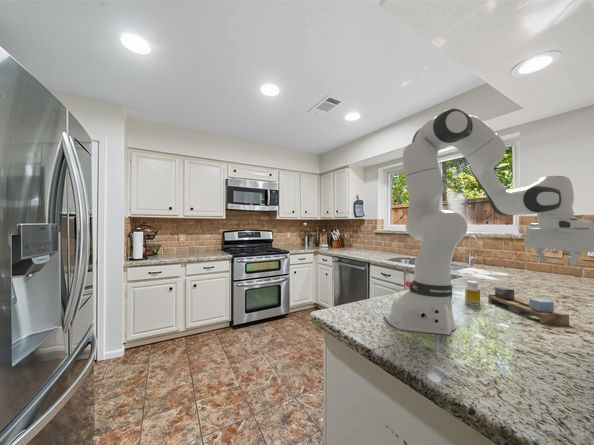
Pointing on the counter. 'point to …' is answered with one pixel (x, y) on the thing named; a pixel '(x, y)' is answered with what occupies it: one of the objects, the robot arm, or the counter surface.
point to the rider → (541, 305)
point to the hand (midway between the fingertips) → (556, 262)
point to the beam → (525, 307)
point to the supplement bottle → (472, 293)
